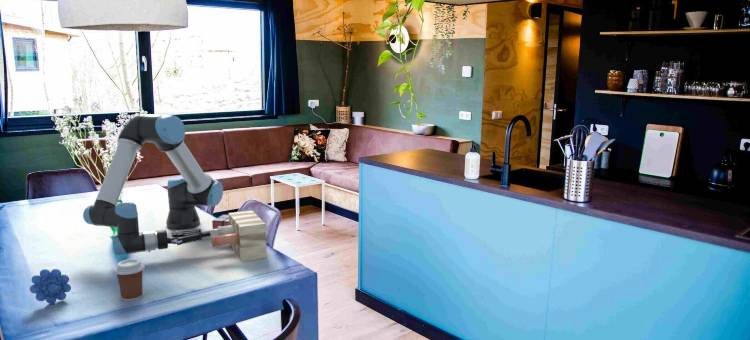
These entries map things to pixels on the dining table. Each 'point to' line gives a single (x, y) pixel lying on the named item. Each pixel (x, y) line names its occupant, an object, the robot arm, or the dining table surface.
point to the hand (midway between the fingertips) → (218, 232)
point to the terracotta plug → (225, 239)
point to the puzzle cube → (221, 221)
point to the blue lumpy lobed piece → (50, 286)
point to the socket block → (249, 235)
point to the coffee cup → (130, 279)
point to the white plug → (225, 230)
